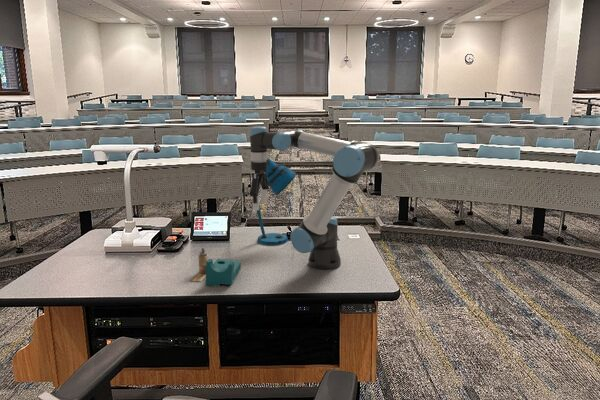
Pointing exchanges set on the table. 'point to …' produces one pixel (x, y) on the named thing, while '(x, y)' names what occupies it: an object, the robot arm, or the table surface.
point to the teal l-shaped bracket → (221, 271)
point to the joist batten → (198, 277)
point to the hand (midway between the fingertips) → (260, 206)
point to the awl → (203, 261)
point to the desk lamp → (278, 182)
